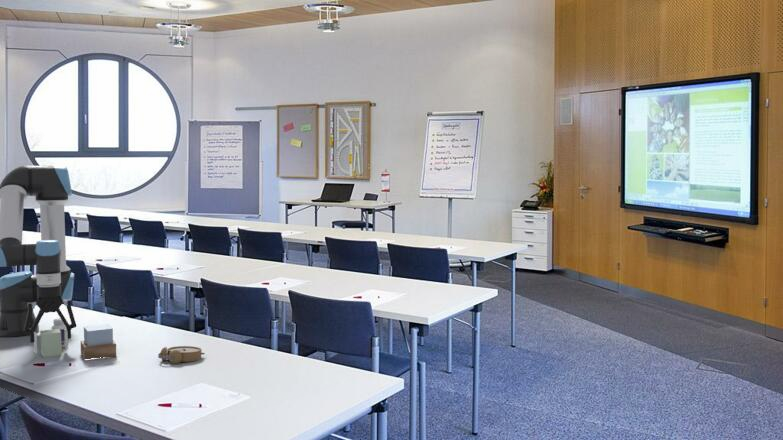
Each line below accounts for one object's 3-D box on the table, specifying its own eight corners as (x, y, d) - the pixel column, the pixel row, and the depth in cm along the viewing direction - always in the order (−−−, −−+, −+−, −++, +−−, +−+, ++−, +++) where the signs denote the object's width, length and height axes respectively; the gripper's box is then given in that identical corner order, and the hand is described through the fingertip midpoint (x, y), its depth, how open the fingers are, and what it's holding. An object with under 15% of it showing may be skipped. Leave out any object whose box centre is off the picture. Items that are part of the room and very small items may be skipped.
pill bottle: (71, 344, 274) (70, 318, 273) (63, 348, 269) (62, 321, 268) (57, 344, 275) (56, 317, 274) (49, 347, 269) (48, 320, 269)
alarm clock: (209, 350, 255) (170, 350, 244) (207, 364, 255) (168, 365, 244) (189, 344, 263) (151, 345, 251) (187, 359, 262) (149, 359, 251)
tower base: (80, 355, 260) (80, 341, 260) (111, 351, 265) (111, 337, 265) (84, 361, 252) (84, 347, 251) (116, 358, 257) (116, 343, 256)
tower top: (84, 341, 260) (83, 326, 259) (108, 338, 264) (108, 324, 264) (88, 345, 253) (87, 331, 253) (113, 343, 257) (112, 328, 257)
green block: (41, 353, 261) (40, 330, 261) (59, 351, 264) (59, 328, 264) (42, 357, 256) (41, 334, 256) (61, 355, 259) (61, 332, 258)
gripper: (14, 289, 250) (16, 356, 251) (84, 284, 261) (86, 348, 262) (13, 286, 256) (15, 351, 258) (81, 281, 267) (83, 343, 269)
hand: (51, 349), depth 260 cm, fingers open, 9 cm apart
